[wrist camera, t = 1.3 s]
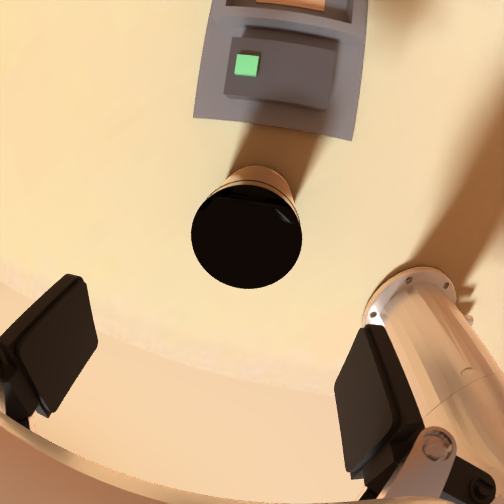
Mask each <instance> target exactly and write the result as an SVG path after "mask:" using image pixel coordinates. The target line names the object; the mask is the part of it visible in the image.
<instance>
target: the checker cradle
mask: <svg viewBox="0 0 504 504" xmlns="http://www.w3.org/2000/svg"><path fill="white" fill-rule="evenodd" d="M367 8H368V0H212V4H211V9H210V14H209V19H208V24H207V29H206V35H205V40H204V46H203V52H202V58H201V64H200V70H199V77H198V84H197V91H196V98H195V106H194V114H193V118H203V119H216V120H227V121H236V122H245V123H253V124H261V125H268V126H275V127H282V128H288V129H294V130H300V131H305V132H310V133H316V134H321V135H325V136H330V137H335V138H339V139H344V140H348V141H352V137H353V131H354V125H355V119H356V112H357V105H358V98H359V91H360V83H361V75H362V66H363V57H364V47H365V36H366V23H367Z"/></svg>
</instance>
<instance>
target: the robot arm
mask: <svg viewBox="0 0 504 504" xmlns="http://www.w3.org/2000/svg"><path fill="white" fill-rule="evenodd" d="M472 324H473V317H472V316H470V315H463V314H462V313H461V312H460V311H459V309H458V308H457V307H456V292H455V288H454V286H453V284H452V282H451V280H450V279H449V278H448V277H447V276H446V275H445V274H444V273H443V272H441V271H440V270H437V269H435V268H432V267H415V268H411V269H407V270H405V271H402V272H400V273H398V274H396V275H395V276H393V277H392V278H390V279H389V280H387V281H386V282H385V283H384V284H383V285H382V286H381V287H380V288H379V289H378V290H377V291H376V292H375V293H374V295H373V296H372V298H371V299H370V301H369V302H368V304H367V307H366V309H365V311H364V315H363V320H362V328H360V329H359V331H358V333H357V336H356V338H355V340H354V343H353V345H352V347H351V349H350V352H349V354H348V356H347V358H346V361H345V363H344V365H343V367H342V369H341V371H340V373H339V375H338V377H337V379H336V382H335V386H334V393H335V399H336V404H337V411H338V418H339V424H340V431H341V438H342V445H343V453H344V461H345V468H346V471H347V472H350V474H351V479H352V480H353V479H362V478H364V483H365V488H364V489H363V490H362V492H361V493H360V494H359V496H358V497H357V498H356V500H355V501H352V502H340V503H339V502H338V503H317V504H504V374H503V372H502V371H501V369H500V368H499V366H498V364H497V363H496V361H495V360H494V358H493V357H492V356H491V354H490V353H489V351H488V350H487V348H486V347H485V345H484V344H483V343H482V341H481V340H480V338H479V337H478V336H477V334H476V333H475V332H474V330H473V329H472V328H471V325H472ZM97 344H98V339H97V334H96V330H95V325H94V321H93V316H92V311H91V306H90V301H89V296H88V290H87V285H86V283H85V282H84V281H83V279H82V277H80V276H76V275H72V274H66V275H64V276H63V277H62V278H61V279H60V280H59V281H58V282H56V283H55V284H54V285H53V286H52V287H51V288H50V289H49V290H48V291H46V292H45V293H44V294H43V295H42V296H41V297H40V298H39V299H38V300H37V301H36V302H35V303H33V304H32V305H31V307H29V308H28V309H27V310H26V311H25V312H24V313H23V314H22V315H21V316H20V317H19V318H18V319H17V320H16V321H15V322H14V323H13V324H12V325H11V326H10V327H9V328H8V329H7V330H6V331H5V332H4V333H3V334H2V335H1V336H0V504H287V503H264V502H251V501H241V500H233V499H226V498H219V497H212V496H207V495H201V494H196V493H191V492H186V491H182V490H177V489H173V488H169V487H165V486H161V485H158V484H154V483H151V482H147V481H144V480H140V479H138V478H134V477H131V476H128V475H126V474H122V473H120V472H117V471H114V470H112V469H109V468H106V467H104V466H101V465H99V464H96V463H94V462H92V461H89V460H87V459H85V458H82V457H80V456H78V455H76V454H74V453H71V452H69V451H68V450H66V449H64V448H62V447H60V446H58V445H56V444H54V443H52V442H50V441H48V440H46V439H45V438H43V437H41V436H39V435H38V434H36V430H35V424H34V419H33V413H34V411H35V410H36V411H37V413H39V414H41V415H43V416H45V417H46V418H49V416H50V415H51V413H54V412H55V411H56V410H57V409H58V407H59V405H60V404H61V402H62V401H63V399H64V397H65V396H66V394H67V392H68V391H69V389H70V388H71V386H72V384H73V383H74V381H75V380H76V378H77V377H78V375H79V374H80V372H81V370H82V369H83V368H84V366H85V364H86V363H87V361H88V360H89V359H90V357H91V355H92V354H93V352H94V351H95V350H96V348H97ZM312 504H316V503H312Z"/></svg>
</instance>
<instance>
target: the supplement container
mask: <svg viewBox="0 0 504 504" xmlns="http://www.w3.org/2000/svg"><path fill="white" fill-rule="evenodd" d="M191 241H192V246H193V250H194V253H195V255H196V257H197V259H198V261H199V263H200V264H201V265H202V267H203V268H204V269H205V270H206V271H207V272H208V273H209V274H210V275H211V276H212V277H214V278H215V279H217V280H218V281H220V282H222V283H224V284H226V285H229V286H232V287H236V288H243V289H254V288H261V287H265V286H268V285H270V284H273V283H275V282H277V281H278V280H280V279H281V278H283V277H284V276H285V275H286V274H287V273H288V272H289V271H290V270H291V269H292V267H293V266H294V265H295V263H296V261H297V259H298V257H299V254H300V251H301V246H302V231H301V226H300V220H299V216H298V213H297V211H296V208H295V204H294V200H293V196H292V192H291V189H290V187H289V185H288V183H287V181H286V180H285V179H284V178H283V177H282V176H281V175H280V174H279V173H278V172H276V171H275V170H273V169H271V168H268V167H265V166H259V165H253V166H247V167H243V168H241V169H239V170H237V171H235V172H234V173H233V174H231V175H230V176H229V177H228V178H227V179H226V180H225V181H224V182H223V184H222V185H221V186H220V187H219V188H218V189H216V190H215V191H214V192H213V193H211V194H210V196H209V197H208V198H207V199H206V200H205V201H204V202H203V204H202V205H201V206H200V208H199V209H198V211H197V213H196V215H195V217H194V220H193V223H192V229H191Z"/></svg>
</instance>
